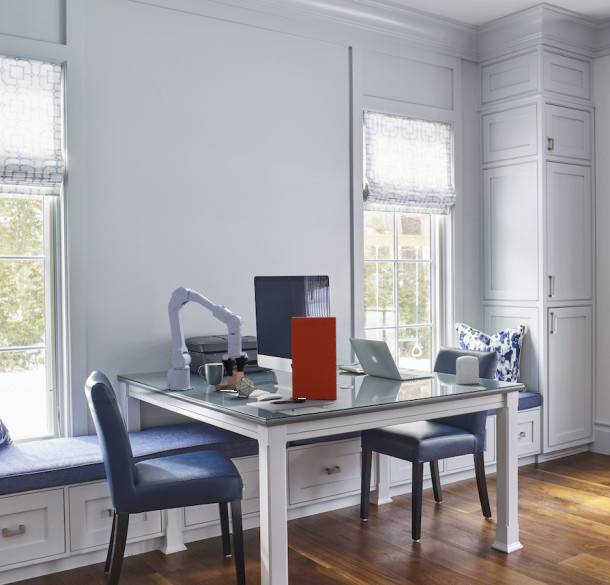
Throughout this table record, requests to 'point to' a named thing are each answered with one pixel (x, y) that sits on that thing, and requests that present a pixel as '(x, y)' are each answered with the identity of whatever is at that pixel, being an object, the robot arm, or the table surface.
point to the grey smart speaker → (467, 370)
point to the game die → (245, 387)
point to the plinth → (226, 387)
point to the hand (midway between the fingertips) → (234, 375)
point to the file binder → (314, 358)
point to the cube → (235, 378)
